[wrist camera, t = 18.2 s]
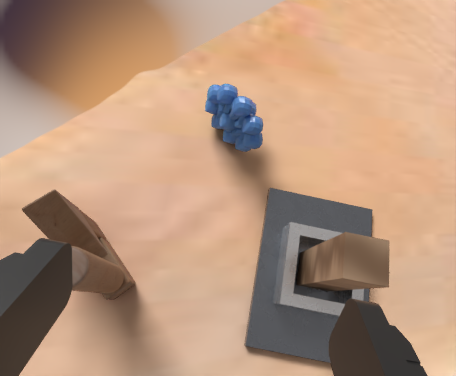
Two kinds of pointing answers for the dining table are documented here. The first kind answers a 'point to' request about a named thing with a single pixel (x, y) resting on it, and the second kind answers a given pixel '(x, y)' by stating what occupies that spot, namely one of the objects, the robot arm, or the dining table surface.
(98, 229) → the brown wooden pegged bracket
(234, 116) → the grapes
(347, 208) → the keeper cradle
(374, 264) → the walnut post
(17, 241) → the dining table surface
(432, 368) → the dining table surface
